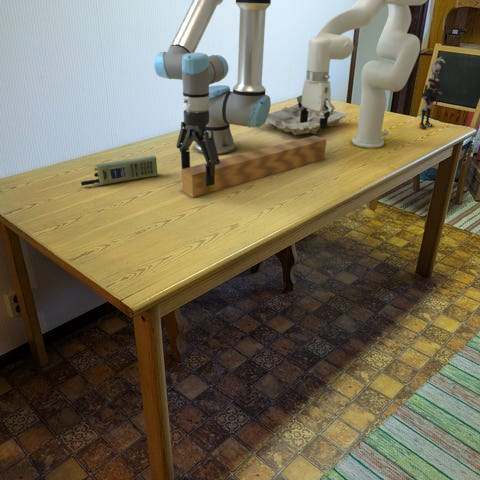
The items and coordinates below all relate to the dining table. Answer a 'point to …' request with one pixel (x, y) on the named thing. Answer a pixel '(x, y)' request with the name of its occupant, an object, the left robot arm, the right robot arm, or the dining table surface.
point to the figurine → (431, 92)
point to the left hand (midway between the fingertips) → (197, 178)
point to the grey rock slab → (291, 120)
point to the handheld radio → (124, 170)
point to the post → (254, 165)
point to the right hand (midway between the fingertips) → (313, 125)
